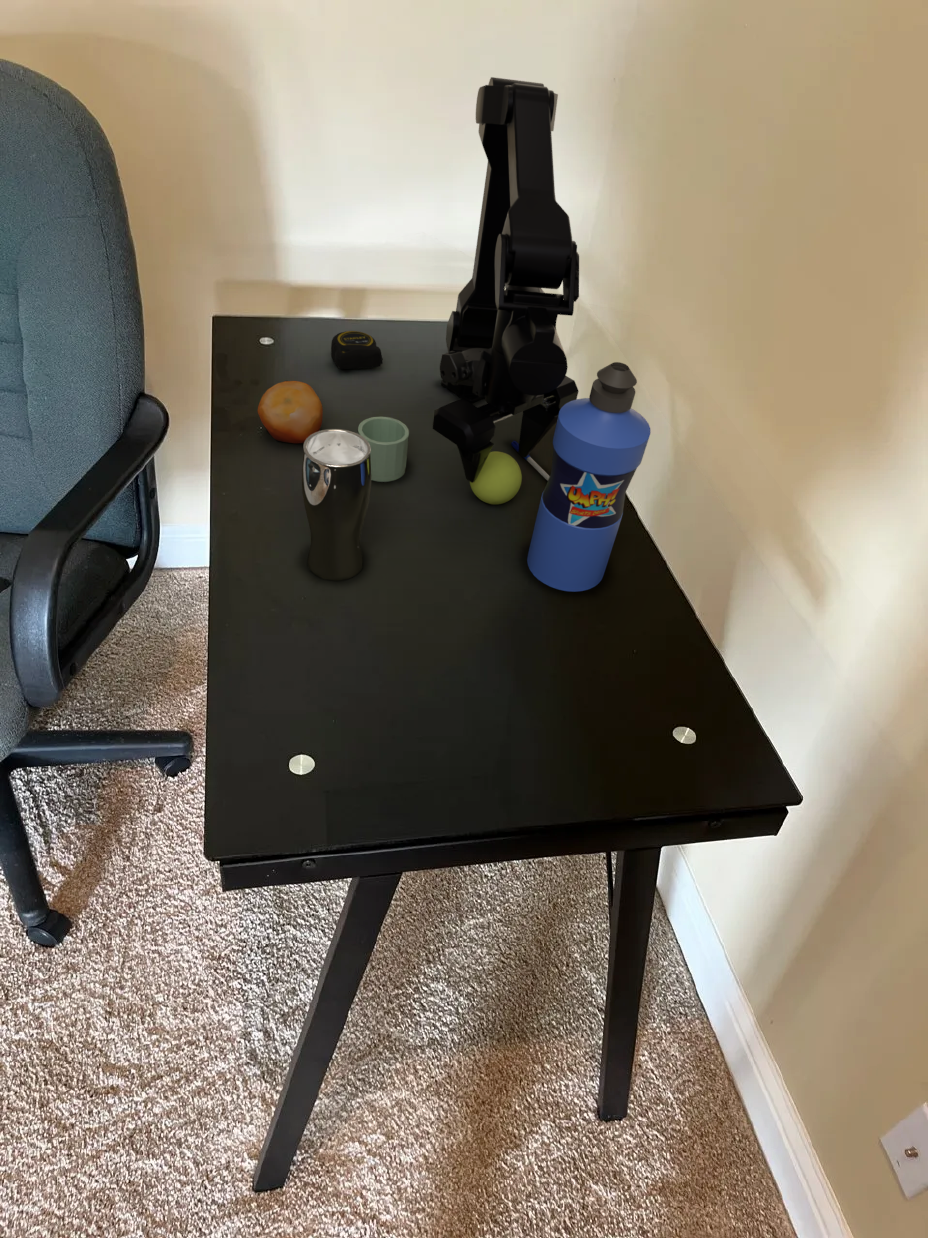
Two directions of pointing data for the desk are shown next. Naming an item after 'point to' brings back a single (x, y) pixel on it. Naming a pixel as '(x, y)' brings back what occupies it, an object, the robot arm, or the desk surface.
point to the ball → (497, 479)
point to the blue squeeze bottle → (588, 482)
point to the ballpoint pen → (531, 461)
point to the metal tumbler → (336, 500)
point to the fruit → (291, 411)
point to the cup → (386, 447)
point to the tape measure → (355, 350)
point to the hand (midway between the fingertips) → (497, 467)
